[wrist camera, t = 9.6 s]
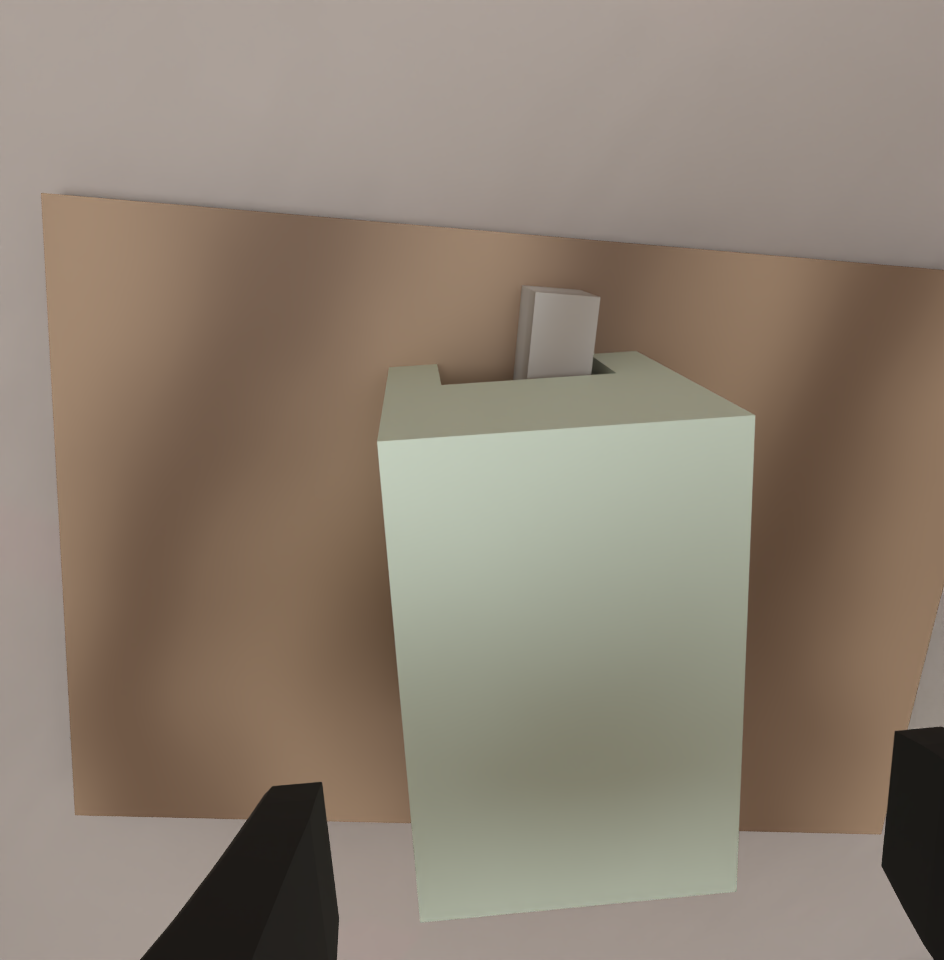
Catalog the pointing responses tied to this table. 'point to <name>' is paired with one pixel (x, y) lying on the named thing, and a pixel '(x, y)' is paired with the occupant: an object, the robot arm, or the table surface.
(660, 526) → the cabinet block
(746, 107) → the table surface
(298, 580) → the cleat board
